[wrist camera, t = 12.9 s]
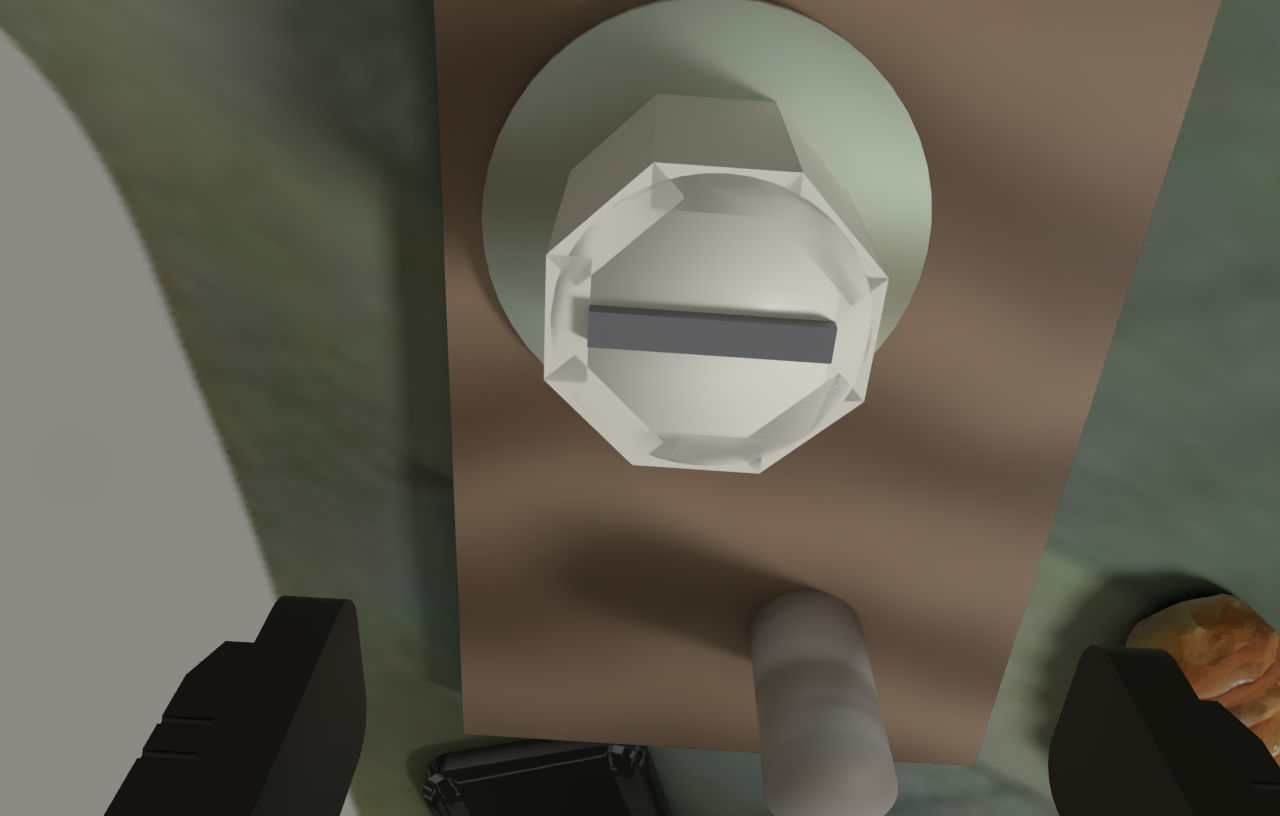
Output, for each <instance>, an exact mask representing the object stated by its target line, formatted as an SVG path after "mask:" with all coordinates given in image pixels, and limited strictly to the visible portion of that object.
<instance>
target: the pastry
mask: <svg viewBox="0 0 1280 816" xmlns="http://www.w3.org/2000/svg"><path fill="white" fill-rule="evenodd" d="M1125 647H1137V648H1155V649H1163V650H1165V651H1167V652H1168V653H1170V654H1171V655H1172V656H1173V658H1174V659H1175V660H1176V662H1177V663H1178V665H1179V667H1180V668H1181V670H1182V671H1183V673H1184V675H1185V676H1186V678H1187V680H1188V681H1189V683H1190V684H1191V686H1192V688H1193V689H1194V691H1195V693H1196V694H1197V696H1198V697H1199V699H1200V700H1209V701H1218V702H1219V703H1220V704H1222V705H1223V706H1224V707H1225V708H1226V709H1227V710H1228V711H1229V712H1231V713H1232V714H1233V715H1234V716H1235V717H1236V718H1237V719H1239V720H1240V721H1241V722H1242V723H1243V724H1244V725H1245V726H1247V727H1248V728H1249V729H1250V730H1251V731H1252V732H1253V733H1255V734H1256V735H1257V736H1258V737H1259V738H1260V739H1261V740H1262V741H1263V742H1264V744H1265V746H1266V747H1267V749H1268V750H1269V752H1270V753H1271V755H1272V756H1273V758H1274V759H1275V761H1276V762H1277V764H1278V765H1279V767H1280V636H1279V634H1278V632H1277V630H1275V629H1274V628H1273V627H1272V626H1270V625H1269V623H1268V622H1267V621H1266V620H1265V619H1264V618H1263V617H1262V616H1260V615H1259V614H1258V613H1256V612H1255V611H1254V610H1252V609H1251V608H1250V607H1248V606H1247V605H1246V604H1245V603H1244V602H1243V601H1241V600H1240V599H1239V598H1237V597H1235V596H1233V595H1227V594H1223V593H1221V594H1219V595H1215V596H1211V597H1205V598H1198V599H1192V600H1188V601H1184V602H1180V603H1178V604H1175V605H1173V606H1170V607H1168V608H1166V609H1163V610H1161V611H1159V612H1157V613H1155V614H1153V615H1151V616H1149V617H1147V618H1145V619H1143V620H1141V621H1140V622H1138V623H1137V624H1136V625H1135V626H1134V628H1133V629H1132V631H1131V632H1130V633H1129V635H1128V637H1127V640H1126V644H1125Z"/></svg>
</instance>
